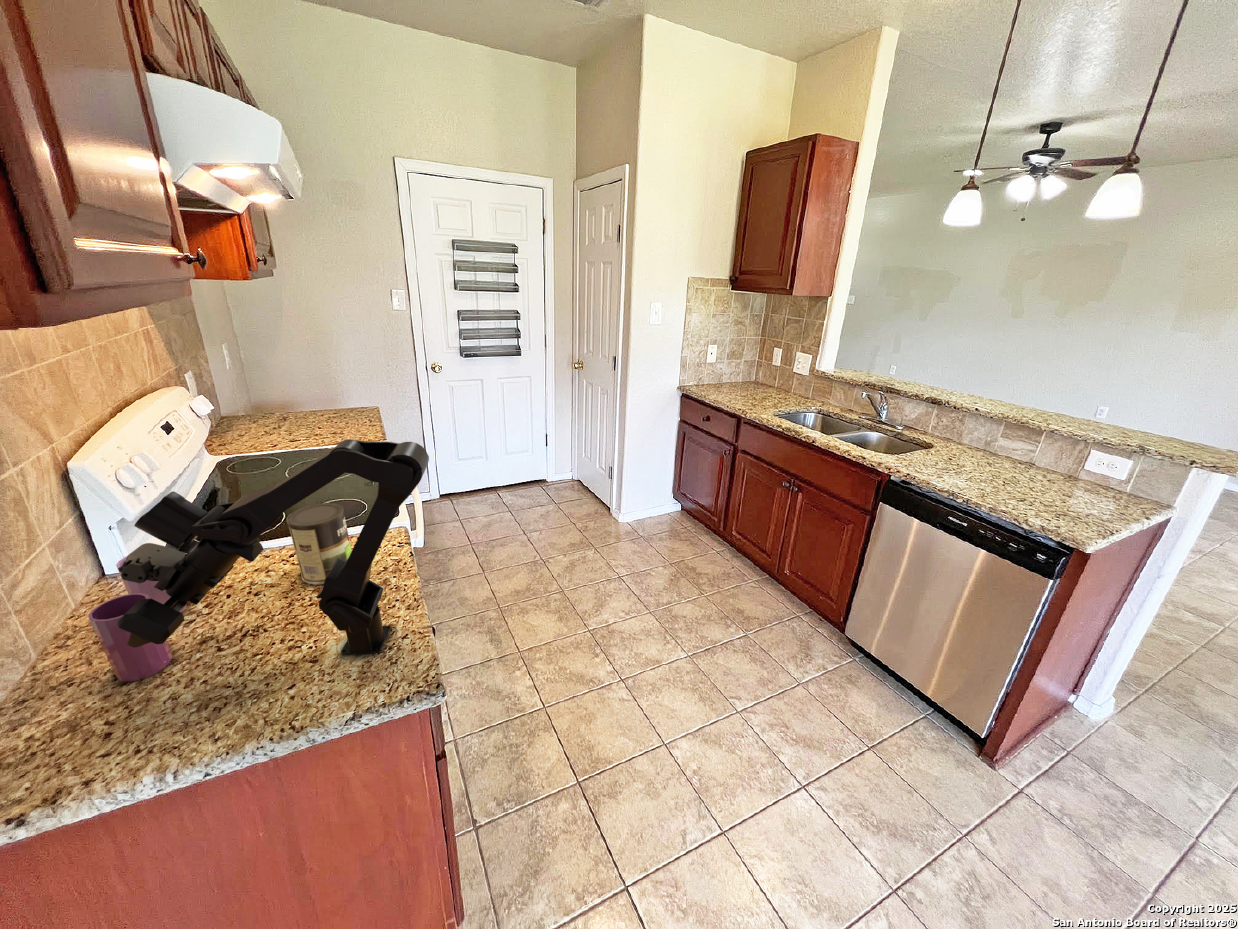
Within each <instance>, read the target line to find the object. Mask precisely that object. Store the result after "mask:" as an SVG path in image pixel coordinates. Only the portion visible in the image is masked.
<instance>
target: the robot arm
mask: <svg viewBox="0 0 1238 929" xmlns="http://www.w3.org/2000/svg"><path fill="white" fill-rule="evenodd" d="M429 461H430V456H429V454H428V452H427V450H426V448H424V446H422V445H421V444H419V443H418V442H414V441H404V442H403V441H402V442H394V441H383V440H381V441H379V440H378V441H376V440H375V441H365V440H364V441H363V440H357V439H350V438H349V439H343V440H341V441H340V442H338V444H336V445H335V447H333V448H331V449H330V450H329V451H327V452H325V453H324V454H322V455H320V456H319V457H317V458H316V459H314V460H313V461H311V462H310V463H308V464H307V465H305V466H303V467H301V468H300V469H299V470H297V471H295V472H294V473H293V474H291V475H289V476H288V477H286V478H285V479H283V480H281V481H280V482H278V483H276V484H273V485H270V486H268V487H262V488H259V489H257V490H254V491H252V492H250V493H247V494H244V495H243V496H241V497H240V498H239V499H238V500H236V501H230V502H224V503H219V504H217V505H216V506H214V507H213V508H212V509H211V510H209V511H207V510H205V509H204V508H202V507H200V506H198V505H196V504H194V503H193V502H191V501H190V500H187V499H186V497H184V496H182V495H181V494H179V493H177V491H171V492H169V493H168V494H166V495H164V496H163V497H162V499H161V500H160V501H159V502H158V503H157V502H156V504H155V505H154V506H153V507H152V508H150V509H149V510H148V511H147V512H145V513H144V514H142V515H141V516H140V517H139V518H138V519H137V521H136V522H135V523H134V527H135V528H137V529H139V530H140V531H141V532H142V531H143V532H144V533H146V534H148V535H150V536H152V537H154V538H156V539H158V540H159V541H161V542H163V543H165V544H167V545H169V546H166V545H162V544H157V543H153V542H145V543H142V544H141V545H140V546H138V547H136V549H134V550H132V552H130V553H128V555H126V556H127V559H126V560H125V561H124V562H123V565H122V566H121V567H119V568H118V569H117V571H118V570H119V571H118V573H119V572H122V573H121V576H120V578H121V580H122V579H123V580H126V581H131V582H136V583H143V582H145V581H146V580H149V581H158V583H157V584H156V585H155V586H154V587H155V588H157V589H159V590H161V591H163V590H167V591H166V593H167V594H168V595H169V596H170V598H169V599H168V600H167V601H166V602H165V603H164V604H162V603H160V602H158V601H155V600H153V599H141V600H140V601H139V602H138V603H136V604H135V605H134V606H133V607H132V608H131V609H130V610H129V611H128V612H126V613H125V614H124V615H123V616H122V618H121V619H120V620H119V621H118V622H117V625H118V627H119V628H121V629H123V630H125V631H128V632H130V633H131V634H130V638H129V641H128V645H129V646H131V647H133V648H136V647H139V646H142V645H145V644H147V643H150V642H152V643H155V644H163V643H164V642H165V641H168V639H169V638H170V637H171V636H172V634H174V633H175V631H176V630H178V628H179V627H180V626H181V625H182V624H183V623H184V622H185V617H184V615H183V612H182V613H181V612H180V611H181V610H182V609H183V608H184V607H185V606H186V604H187V605H188V603H191V604H193V605H196V606H197V605H198V604H199V603H200V602H201V601H202V600H203V598H204V597H206V596H207V595H208V594H209V592H210V591H211V590H212V589H214V588H215V587H217V585H218V584H219V583H221V581H223V580H224V578H225V577H226V576H227V575H228V574H229V573H230V572H231V571H232V569H233V568H235V565H234V564H236V562H237V561H238V560H239V559H240V558H242V559H244V560H246V561H248V562H250V563H252V562H255V560H256V559H257V558H258V557H259V555H260V554H261V553H262V552H263V551H264V547H263V544H262V543H261V542H260V541H261V539H260V538H259V537H260V536H261V535H262V534H263V533H264V532H265V531H266V530H267V529H268V528H269V527H271V526H272V525H273V524H274V522H276V521H277V520H278V519H279V518H280V517H281V516H282V515H283V514H284V513H285V512H286V511H287V510H289V509H290V508H292V507H293V506H296V505H297V504H298V503H300V502H302V501H303V500H305V499H306V498H308V497H309V496H311V495H312V494H314V493H316V492H317V491H319V490H321V489H322V488H323V487H325V486H327V485H328V484H330V483H331V482H333V481H335V480H336V479H338V478H339V477H341V476H343V475H344V474H351V475H355V476H357V477H360V478H363V479H365V480H367V481H369V482H372V483H377V491H376V492H377V494H376V499H375V501H374V503H373V505H372V507H371V510H370V512H369V513H368V516H367V518H366V520H365V522H364V524H363V526H362V528H361V531H360V533H359V534H358V537H357V539H356V541H355V543H354V545H353V548H352V549H351V550H352V552H351V554H350V556H349V558H348V559H347V560H346V561H343V560H341V559H339V558H338V559H337V560H336V562H335V563H334V565H333V567H332V568H331V570H330V572H329V573H328V575H327V577H326V579H325V582H324V584H322V587H321V588H320V590H319V591H318V594H317V595H316V596H315V599H319V602H318V609H319V610H321V612H322V613H323V614H324V615H325V616H327V617H328V619H329V620H330V621H331V622H332V623H333V625H334V626H335V627H336V628H337V630H338V631H339V632H344V631H345V635H346V638H347V639H346V642H345V643H344V646H343V647H342V648H341V651H340V654H341V655H342V656H349V655H350V656H351V655H352V656H353V655H368V654H379V653H381V652H382V650H383V647H384V645H385V644H386V641H387V639H388V637H389V635H390V633H391V631H392V626H391V625H384V624H383V621H382V615H381V608H380V606H379V602H380V601H381V599H382V596H383V593H384V587H383V586H381V585H379V584H377V583H376V582H374V581H372V580H371V579H370V577H371V573H372V565H373V562H374V559H375V557H376V555H377V553H378V551H379V550H380V547H381V545H382V543H383V541H384V540H385V537H386V535H387V533H388V530H389V528H390V526H391V524H392V522H393V521H394V518H395V517H396V514H397V513H398V510H399V508H400V507H401V506H402V504H404V502H405V501H406V500H407V499H408V498H409V497H410V496H411V494H412V493H413V492H414V490H415V489H416V488H417V486H418V485H419V484H420V482H421V481H422V479H423V477H424V474H425V471H426V470H427V467H428V465H429ZM197 538H199V539H200V540H199V541H198V542H197V543H196V544H195V546H194V547H191V548H190V550H188V551H187V552H183V551H180V550H178V549H180V547H182V546H183V545H185V546H186V547H188V546H190V545H191V544H192V543H193V542H194V541H195V540H196V539H197ZM170 546H171V547H170Z"/></svg>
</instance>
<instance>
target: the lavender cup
mask: <svg viewBox="0 0 1238 929" xmlns="http://www.w3.org/2000/svg"><path fill="white" fill-rule="evenodd" d="M127 556H128V555H126V556H124V557H122V558H121V559H119V560H118V561H117V563H116V564H115V566H116V569H117V571H118V573H119V576H120V577H121V573H122V572H119V570H118V568H119V567H121V566H122V565H123V562H124V561H125V560H126V559H127ZM121 580H122V583H123V586H124V587H125V590H126V593H127V594H132V593H144V594H147V595H148V596H149V599H153V600H155V601H158V602H160V603H162V604H164V603H165V602H166V601H167V600H168V599H169V598H170V596H169V595H168V594H167V593H166V591H167V590H163V591H161V590H159V589H157V588H155V587H154V586H155V585H156V584H157V583H158V581H149V580H146V581H145V582H143V583H136V582H131V581H126V580H123V579H122V578H121ZM187 607H188V603H187V604H186V606H185V607H184V608H183V609H182V610H181V611H180V612H181V613H182V614H183V612H184V611H185V610H187Z"/></svg>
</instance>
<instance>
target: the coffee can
mask: <svg viewBox="0 0 1238 929" xmlns="http://www.w3.org/2000/svg"><path fill="white" fill-rule="evenodd" d="M285 519H286V520H285V521H286V524H287V526H288V530H289V533H290V536H291V541H292V545H293V549H294V552H295V556H296V560H297V564H298V567H299V571H300V575H301V580H302V581H303V582H304V583H306V584H308V585H315V586H316V585H324V582H325V579H326V577H327V575H328V573H329V572H330V570H331V568H332V567H333V565H334V563H335V562H336V560H337V559H338V558H339V559H341V560H343V561H346V560H347V559H348V558H349V556H350V554H351V552H352V550H353V549H352V546H351V541H350V536H349V531H348V526H347V522H346V517H345V509H344V507H343V505H341V504H338V503H333V502H322V503H315V504H310V505H306V506H303V507H300V508H298V509H296V510H294V511H293V512H291V513H289V514H288V516H287V517H286V518H285Z"/></svg>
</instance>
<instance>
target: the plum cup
mask: <svg viewBox="0 0 1238 929" xmlns="http://www.w3.org/2000/svg"><path fill="white" fill-rule="evenodd" d="M141 599H149V596H148V595H147V594H144V593H132V594H128V593H126V594H123V595H120V596H119V595H118V596H117V597H113V598H110V599H109V600H106V601H104V602H102V603H99V604H98V605H97V606H95V607H94V608H92V610H91V611H90V612H89V613H88V616H87V617H88V620H89V622H90V625H91V627H92V629H93V631H94V633H95V635H96V637H97V639H98V642H99V644H100V646H101V648H102V650H103V652H104V655H105V656H106V658H107V661H108V662H109V665H110V667H111V669H112V671H113V673H114V675H115V676H116V678H117V680H118V681H120V682H125V683H128V682H135V681H136V682H137V681H140V680H143V679H146V678H148V677H151V676H153V675H155V674H157V673H159V672H160V671H162V670H163V669H164V668H166V667H167V666H168V665H169V664H170V662H171V661H172V660H173V653H172V650H171V648H170V646H169V643H168V640H166V641H165V642H164V643H163V644H155V643H152V642H150V643H147V644H145V645H142V646H139V647H136V648H133V647H131V646H129V645H128V641H129V638H130V634H131V633H130V632H128V631H125V630H123V629H121V628H119V627H118V625H117V622H118V621H119V620H120V619H121V618H122V616H123V615H124V614H125V613H126V612H128V611H129V610H130V609H131V608H132V607H133V606H134V605H135V604H136V603H138V602H139V601H140V600H141Z"/></svg>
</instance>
